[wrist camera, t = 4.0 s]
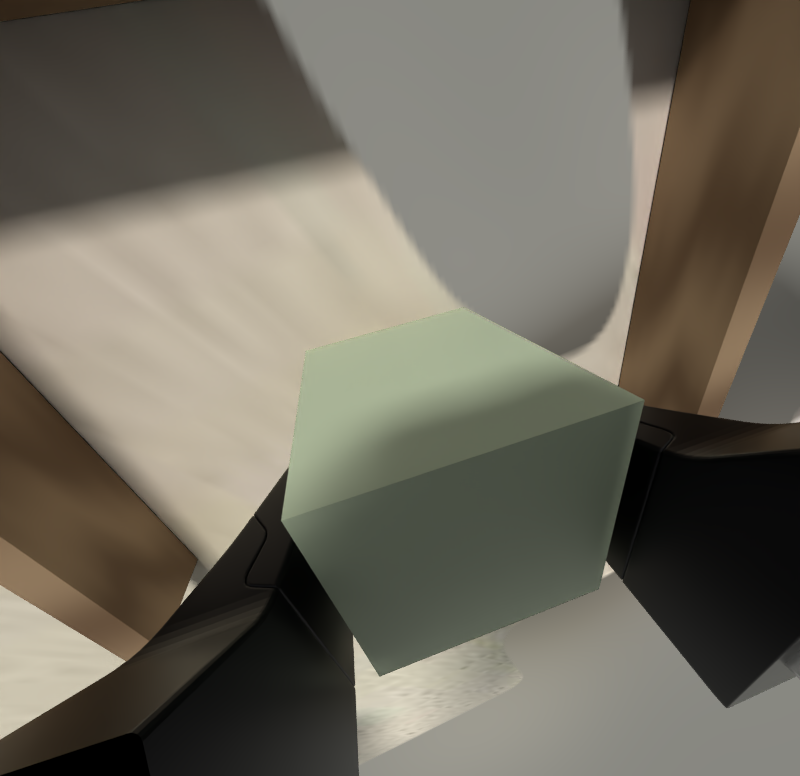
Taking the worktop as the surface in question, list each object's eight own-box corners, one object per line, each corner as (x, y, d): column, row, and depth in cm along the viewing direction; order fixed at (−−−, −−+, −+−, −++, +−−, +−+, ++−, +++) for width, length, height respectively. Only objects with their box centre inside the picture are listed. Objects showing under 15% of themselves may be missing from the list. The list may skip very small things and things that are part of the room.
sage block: (476, 431, 12) (599, 589, 7) (353, 471, 11) (379, 676, 6) (463, 307, 9) (644, 399, 4) (305, 351, 9) (281, 520, 4)
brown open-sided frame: (631, 414, 16) (702, 455, 13) (171, 568, 14) (128, 662, 11) (762, -169, 7) (1067, -450, 4) (-455, -25, 5) (-1676, -431, 2)
